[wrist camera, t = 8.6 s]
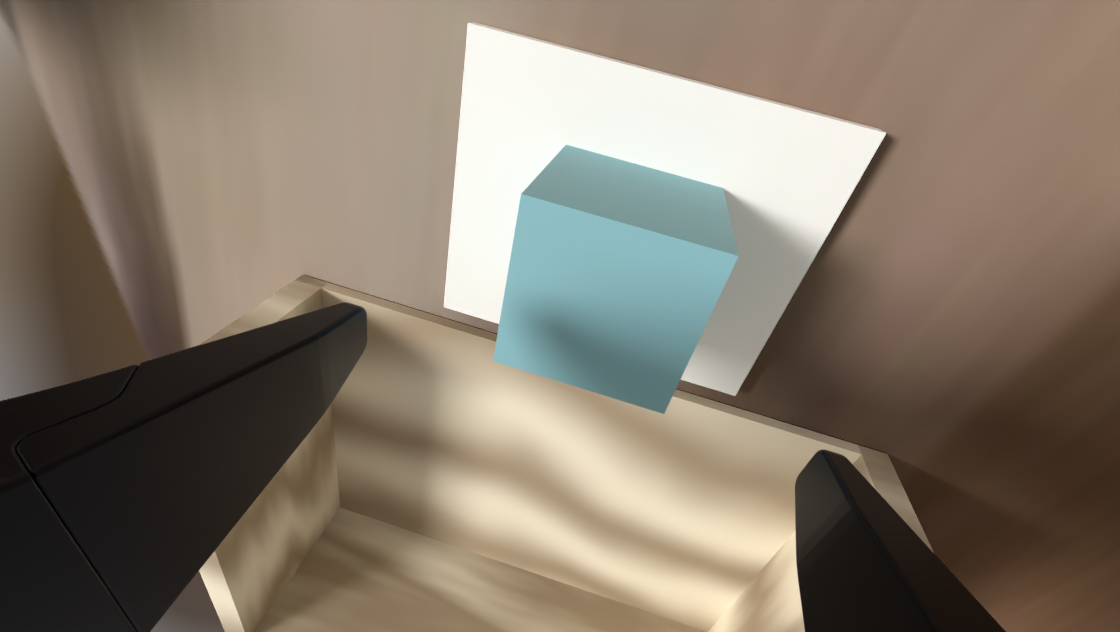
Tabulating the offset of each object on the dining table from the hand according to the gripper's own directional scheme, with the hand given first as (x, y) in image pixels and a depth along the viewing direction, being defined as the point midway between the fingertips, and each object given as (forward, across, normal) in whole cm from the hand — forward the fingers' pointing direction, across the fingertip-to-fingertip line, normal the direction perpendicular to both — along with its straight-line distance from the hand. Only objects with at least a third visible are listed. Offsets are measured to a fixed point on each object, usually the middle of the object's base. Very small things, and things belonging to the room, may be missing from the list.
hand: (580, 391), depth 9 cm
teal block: (+8, 0, 0) cm, 8 cm away
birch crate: (+9, 0, +14) cm, 17 cm away
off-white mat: (+9, 0, 0) cm, 9 cm away
